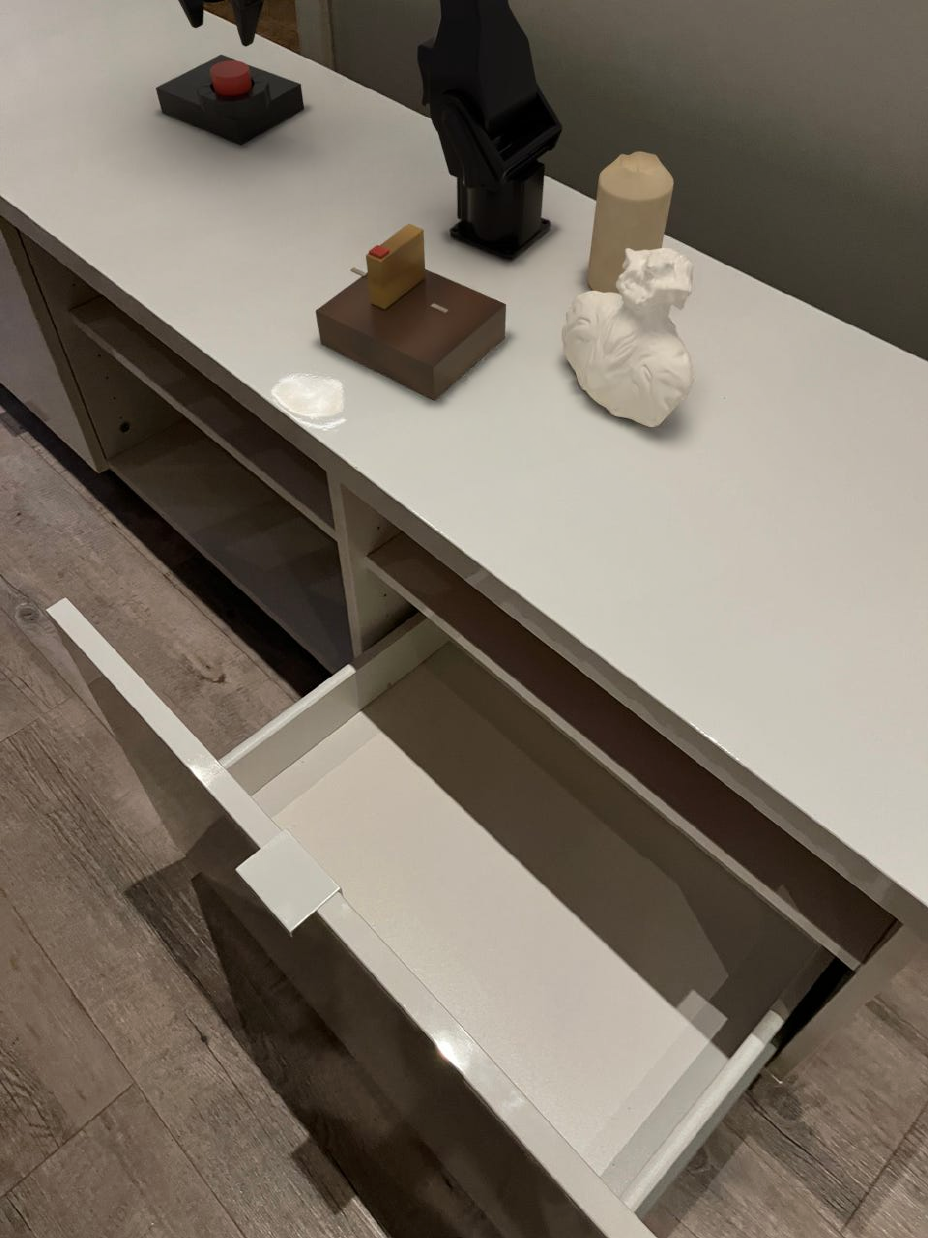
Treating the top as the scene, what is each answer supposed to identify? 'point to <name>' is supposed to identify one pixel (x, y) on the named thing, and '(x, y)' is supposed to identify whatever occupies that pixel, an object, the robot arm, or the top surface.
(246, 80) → the button
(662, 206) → the candle
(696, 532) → the top surface
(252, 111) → the push button box
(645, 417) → the bust
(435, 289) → the plate
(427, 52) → the robot arm
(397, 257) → the thumbturn
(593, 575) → the top surface
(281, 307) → the top surface
